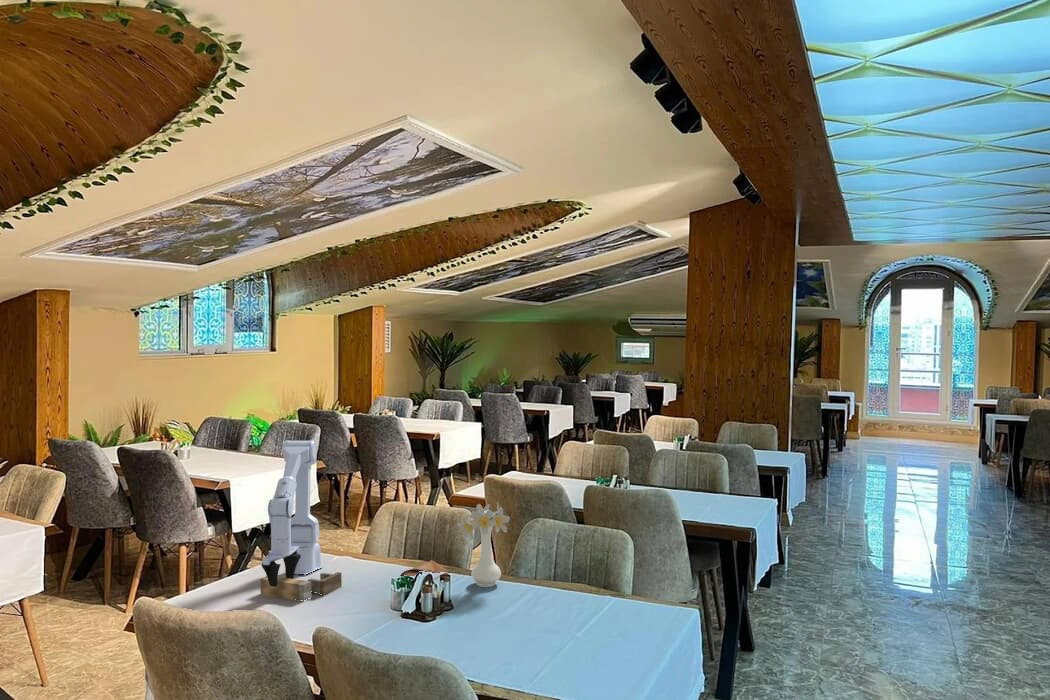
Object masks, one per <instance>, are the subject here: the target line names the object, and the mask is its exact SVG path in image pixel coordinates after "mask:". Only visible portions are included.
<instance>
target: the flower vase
mask: <svg viewBox="0 0 1050 700" xmlns="http://www.w3.org/2000/svg"><path fill="white" fill-rule="evenodd" d="M490 505H491V504H489V503H488V504H486V505H485V506H484V508H483V506H482V505H481V503H477V504H476V507H475V508H476V511H474V510H472V511H471V512H470V514H469V518H471V520H470V521H468V520H467V519H466V518H465V517H464V516H463V517H462V518H461V520H462V522H457V523H456V526H457V527H458V528H459V529H461V530H463V531H462V539H467V537H468V536H469V538H470V539H471V540H472V541H475V536H474V535H475V534H474V530H475V529H480V535H481V536H480V538H481V542H480V544H481V545H480V556H479V560H478V562H477V563H476V564H475V565H474V566H473V568H472V569H471V579H472V580H474V582H475V583H476V586H477V587H480V588H492V587H494V586H496V585H497V582H498V581H499V580H500V577H502V572H501V569H500V567H499V566H498V565H497V564H496V563H495V560H494V558H493V555H492V530H493V527H495V532H496V533H499V531H501V530H502V531H503V532H504V533H507V532H508V527H507V526H506V523H507V524H508V523H509V522H510V519H511V517H510V516H509V515H504V509H503V508H502V506H500V505H499V503H498V502H496V505H497V506H496V507H497V508H496V511H492V510H490V507H491V506H490Z"/></svg>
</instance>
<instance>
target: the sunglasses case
mask: <svg viewBox="0 0 1050 700" xmlns="http://www.w3.org/2000/svg"><path fill="white" fill-rule="evenodd" d="M419 571H425V572H432V573H440V572H448V571H449V570H448V569H446V568H445V567H443V566H442V565H440V564H439V563H438V562H437V561H434V559H431V560H429V561H427V562H425V563H422V564H420V565H418V566H416V567H413V568H410V569H407V570H404V571H402V573H401V574H400V575H399V577H400V576H404V575H407V576H415V575H416V574H417V573H418V572H419Z"/></svg>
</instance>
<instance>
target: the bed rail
mask: <svg viewBox="0 0 1050 700" xmlns="http://www.w3.org/2000/svg"><path fill="white" fill-rule="evenodd" d="M259 579H260V580H259V581H260V582H259V583H260V596H264V595H265V596H264V597H270V596H271V598H276V597H277V599H283V598H284V600H289V599H290V600H291V599H294V600H293V601H295V599H296V600H303V601H304V600H306V599H308V598H310V597H311V598H312V593H311V581H308V580H302V579H296V578H293V579H290V578H286V577H283V576H278V581H277V586H276V587H273V586H270V584H269V581H268V578H267V575H265V576H264V577H261V578H259ZM291 601H292V600H291Z"/></svg>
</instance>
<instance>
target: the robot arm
mask: <svg viewBox="0 0 1050 700" xmlns="http://www.w3.org/2000/svg"><path fill="white" fill-rule="evenodd" d="M281 449H282V450H281V451H282V458H283V460H284V462H285V465H284V470H283V477H281V478H280V479H279V480H278V481H277V484H276V488H275V490H274V491H275V492H274V495H273V497H272V498H271V499H270V500H269V501H268V506H267V514H268V519H269V523H270V538H271V540H270V543H271V544H270V546H271V547H270V548H271V550H268V554H266V556H264V557H262V558H261V559H262V561H261V567H262V569H263V571H264V572H265V576H267V578H268V581H269V584H270V586H273V587H276V586H277V581H278V577H279V571H280V568H281V564H280V563H277V562H276V561H279V560H283V563H284V568H285V569H284V571H285V578H290V579H294V577H295V575H298V574H304V575H303V576H307V575H306V573H307V574H308V573H310V572H312V573H314V572H313V571H315V570H317V569H319V570H321V569H323V568H324V566H323V565H322V561H321V560H322V558H321V557H322V555H321V553H322V552H321V546H320V544H319V543H318V542H319V540H320V525H319V523H320V522H319V520H318V519H317V518H316V517H315V516H314V515H312V514H311V469H312V465H315V464H316V463H317V459H318V458H317V456H318V455H317V453H318V450H317V449H318V448H317V443H316V442H315V440H313V439H311V440H288V439H286V440H285V441H284V442H283V444H282V448H281ZM294 498H295V500H294ZM294 506H295V507H294ZM294 508H295V509H294ZM294 511H295V515H294V516H293V514H294V513H293V512H294ZM292 516H293V517H292ZM320 568H321V569H320ZM317 571H318V570H317ZM315 572H316V571H315ZM310 574H311V573H310ZM308 575H309V574H308Z"/></svg>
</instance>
